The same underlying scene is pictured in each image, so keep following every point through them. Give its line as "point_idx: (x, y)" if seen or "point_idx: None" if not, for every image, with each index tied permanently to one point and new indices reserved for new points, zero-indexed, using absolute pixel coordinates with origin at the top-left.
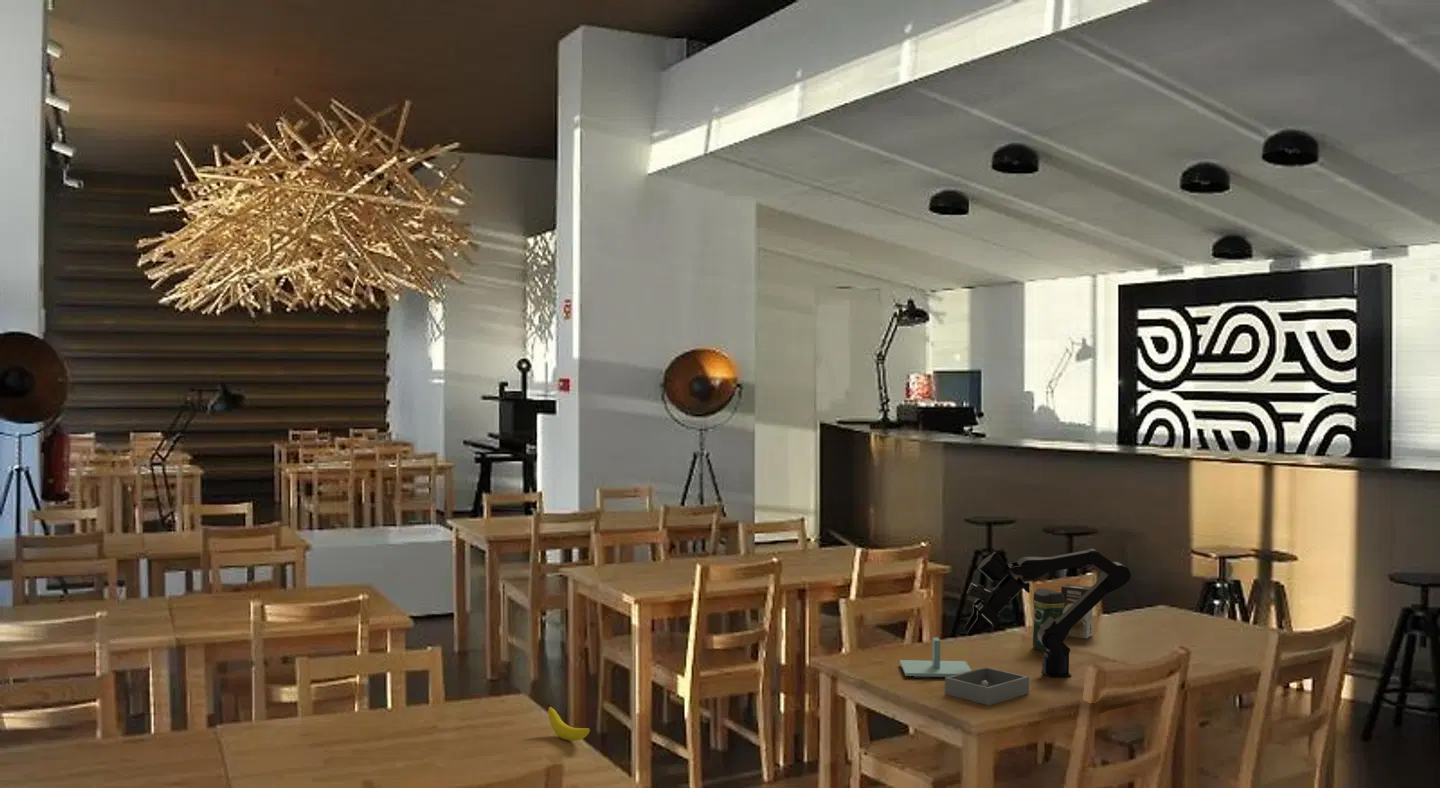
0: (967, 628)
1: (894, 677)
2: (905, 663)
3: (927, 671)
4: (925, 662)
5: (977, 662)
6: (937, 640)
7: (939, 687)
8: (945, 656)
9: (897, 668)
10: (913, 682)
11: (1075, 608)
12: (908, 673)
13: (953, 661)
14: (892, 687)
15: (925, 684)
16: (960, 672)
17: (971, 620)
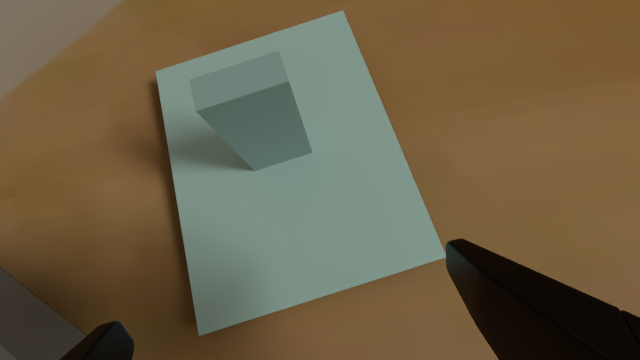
0: (459, 279)
1: (176, 50)
2: (297, 38)
3: (194, 135)
4: (341, 98)
5: None
6: (198, 94)
7: (70, 212)
8: (592, 141)
9: None
10: (124, 117)
11: None
12: (158, 81)
13: (412, 202)
14: (54, 74)
15: (104, 158)
16: (211, 267)
17: (551, 348)
